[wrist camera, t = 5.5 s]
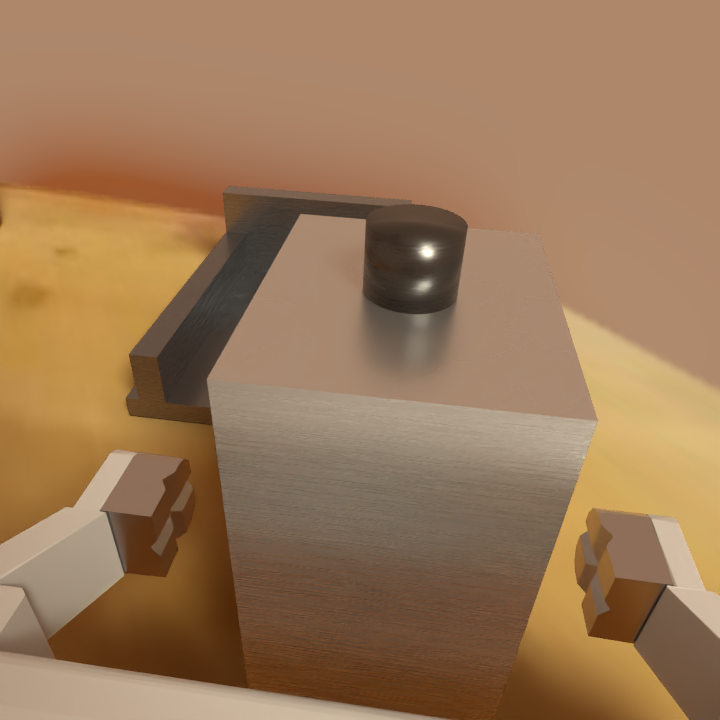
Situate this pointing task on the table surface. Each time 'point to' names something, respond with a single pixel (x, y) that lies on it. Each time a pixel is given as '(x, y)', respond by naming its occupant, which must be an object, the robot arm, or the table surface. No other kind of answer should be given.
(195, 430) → the table surface
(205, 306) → the tray
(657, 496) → the table surface
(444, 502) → the block
